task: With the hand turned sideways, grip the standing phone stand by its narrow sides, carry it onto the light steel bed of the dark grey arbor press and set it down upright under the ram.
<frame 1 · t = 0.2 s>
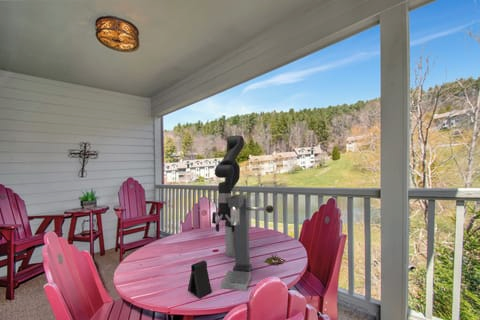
hand: (225, 231, 118), 17 cm above the table, tool pointing down, fingers open, 8 cm apart
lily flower: (274, 262, 120), on the table
arbor press: (236, 282, 98), on the table
phone stand: (199, 292, 92), on the table
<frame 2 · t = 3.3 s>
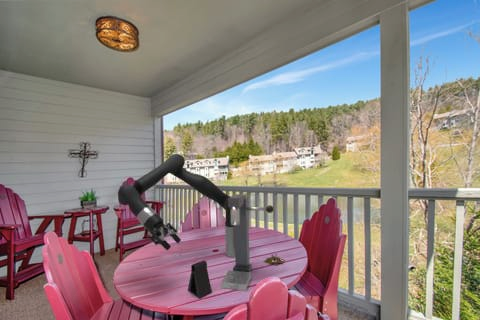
hand: (174, 245, 95), 19 cm above the table, tool tilted 50°, fingers open, 8 cm apart
nothing on the table moved.
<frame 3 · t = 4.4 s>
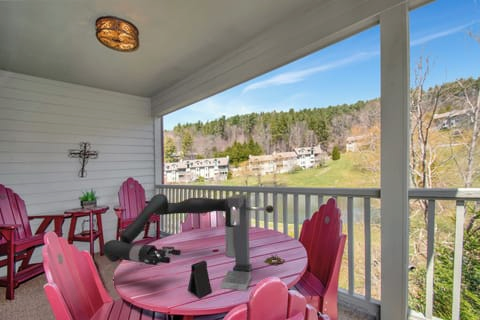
hand: (175, 256, 95), 14 cm above the table, tool horizontal, fingers open, 8 cm apart
nothing on the table moved.
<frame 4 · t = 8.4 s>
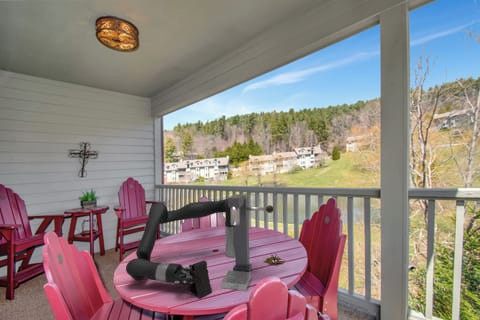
hand: (204, 276, 92), 7 cm above the table, tool horizontal, fingers closed on phone stand, 6 cm apart
phone stand: (199, 292, 92), on the table, touching gripper
everything else where it was.
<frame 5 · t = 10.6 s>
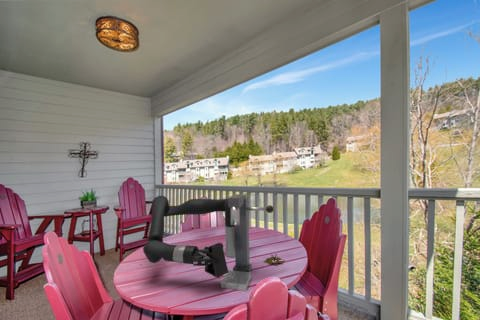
hand: (221, 257, 95), 13 cm above the table, tool horizontal, fingers closed on phone stand, 6 cm apart
phone stand: (216, 272, 95), point 6 cm above the table, touching gripper
everything else where it was.
when the fingers open (10 cm above the table, at t = 13.2 s): phone stand moves 2 cm, resting on arbor press.
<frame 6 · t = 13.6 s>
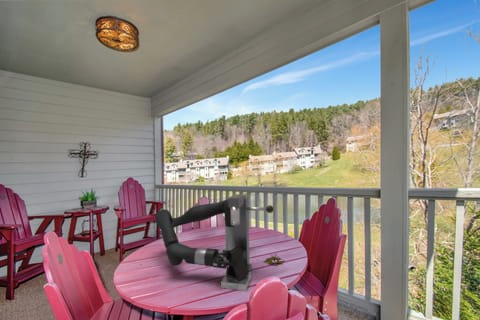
hand: (240, 259, 98), 10 cm above the table, tool horizontal, fingers open, 8 cm apart
phone stand: (237, 274, 100), point 3 cm above the table, touching arbor press, gripper
everything else where it was.
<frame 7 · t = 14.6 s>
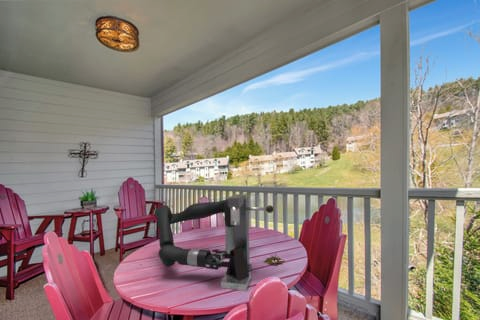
hand: (232, 260, 99), 10 cm above the table, tool horizontal, fingers open, 8 cm apart
phone stand: (237, 275, 100), point 2 cm above the table, touching arbor press
everything else where it was.
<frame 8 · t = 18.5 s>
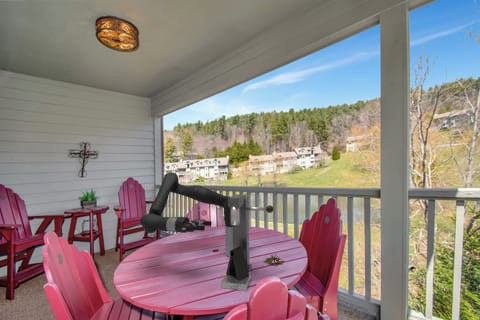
hand: (208, 225, 106), 24 cm above the table, tool horizontal, fingers open, 8 cm apart
nothing on the table moved.
at the end: phone stand inside the target area on the arbor press (1.7 cm from its centre), point 2.3 cm above the arbor press's base; phone stand tilted 0°; the gripper is holding nothing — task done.
